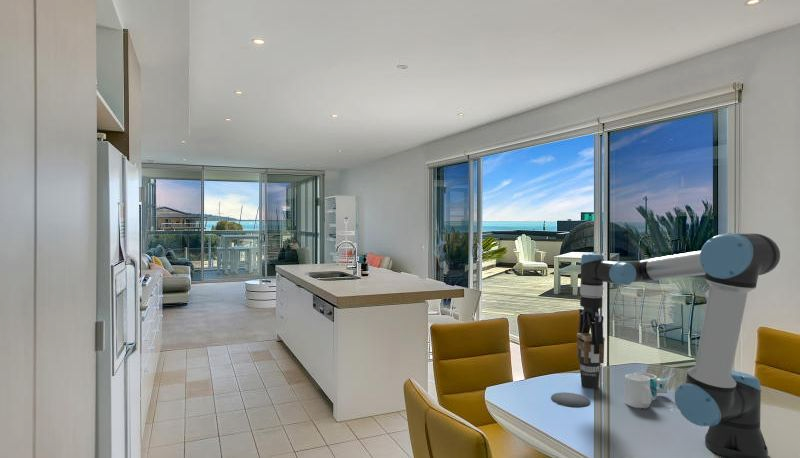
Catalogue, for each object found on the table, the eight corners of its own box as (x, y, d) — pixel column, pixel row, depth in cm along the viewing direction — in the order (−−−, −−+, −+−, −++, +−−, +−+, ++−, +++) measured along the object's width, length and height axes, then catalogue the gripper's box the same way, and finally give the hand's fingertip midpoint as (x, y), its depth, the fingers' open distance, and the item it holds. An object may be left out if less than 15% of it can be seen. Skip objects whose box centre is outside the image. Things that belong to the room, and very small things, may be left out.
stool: (604, 363, 168) (604, 337, 168) (585, 363, 167) (585, 337, 167) (594, 357, 175) (595, 333, 175) (576, 357, 174) (576, 333, 174)
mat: (597, 406, 173) (597, 405, 173) (560, 407, 172) (560, 406, 172) (579, 393, 187) (579, 392, 187) (545, 394, 186) (545, 392, 186)
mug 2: (629, 393, 188) (629, 372, 188) (657, 392, 189) (657, 371, 189) (642, 400, 179) (642, 378, 179) (671, 399, 181) (671, 377, 181)
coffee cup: (572, 384, 198) (572, 348, 198) (589, 381, 202) (589, 346, 202) (590, 391, 189) (590, 354, 189) (607, 388, 193) (607, 351, 193)
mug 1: (661, 412, 168) (661, 383, 168) (639, 413, 167) (639, 384, 167) (641, 400, 180) (641, 373, 180) (620, 401, 179) (620, 373, 179)
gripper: (615, 300, 161) (614, 367, 162) (588, 291, 181) (587, 351, 181) (594, 300, 161) (592, 367, 161) (569, 291, 180) (568, 351, 181)
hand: (589, 359), depth 171 cm, fingers closed on stool, 7 cm apart
